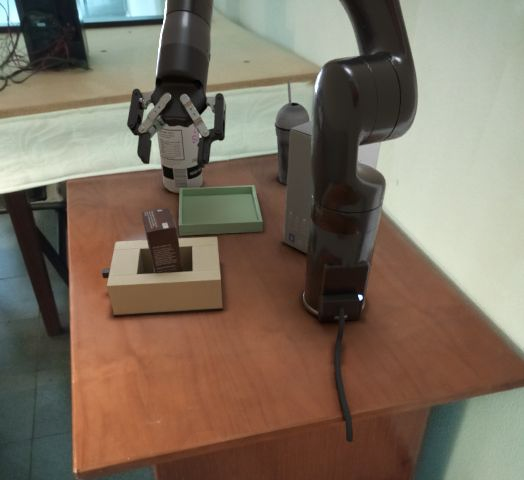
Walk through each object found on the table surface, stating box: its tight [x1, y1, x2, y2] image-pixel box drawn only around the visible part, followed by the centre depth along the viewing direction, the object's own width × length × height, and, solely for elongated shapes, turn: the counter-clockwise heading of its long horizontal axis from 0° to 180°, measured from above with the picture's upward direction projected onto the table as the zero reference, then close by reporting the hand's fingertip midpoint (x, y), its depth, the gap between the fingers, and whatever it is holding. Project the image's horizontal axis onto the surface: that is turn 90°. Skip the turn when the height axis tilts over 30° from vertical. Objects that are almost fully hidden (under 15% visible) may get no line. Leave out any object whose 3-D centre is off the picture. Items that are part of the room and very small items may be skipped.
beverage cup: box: [274, 77, 311, 185], centre depth 101 cm, size 7×7×20 cm
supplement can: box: [156, 116, 204, 194], centre depth 100 cm, size 8×8×15 cm
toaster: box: [101, 236, 224, 318], centre depth 76 cm, size 12×18×6 cm
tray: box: [178, 184, 264, 237], centre depth 95 cm, size 15×15×2 cm
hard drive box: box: [282, 120, 382, 255], centre depth 84 cm, size 16×8×20 cm, turn 136°
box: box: [141, 207, 183, 273], centre depth 74 cm, size 6×4×12 cm
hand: (172, 163), depth 73 cm, fingers open, 8 cm apart
